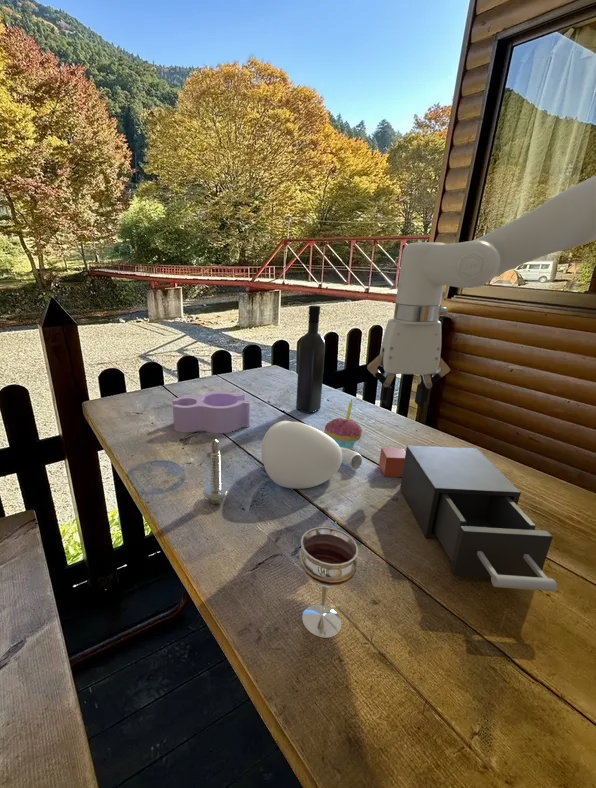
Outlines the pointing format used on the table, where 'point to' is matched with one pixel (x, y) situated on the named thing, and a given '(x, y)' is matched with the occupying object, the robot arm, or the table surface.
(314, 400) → the wine bottle
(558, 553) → the table surface
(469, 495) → the drawer
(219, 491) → the screw
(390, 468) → the block
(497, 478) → the cabinet
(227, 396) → the clip
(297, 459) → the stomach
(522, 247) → the robot arm
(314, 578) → the wineglass
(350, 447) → the cupcake
